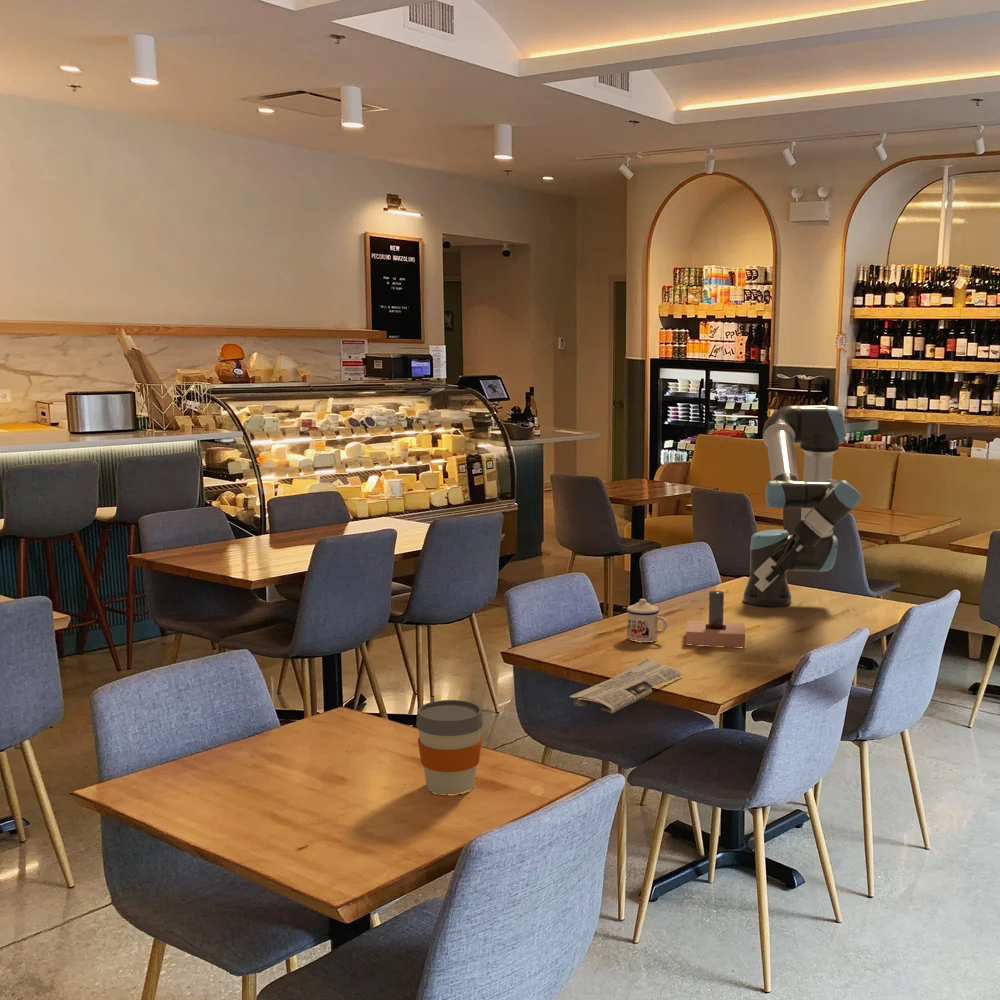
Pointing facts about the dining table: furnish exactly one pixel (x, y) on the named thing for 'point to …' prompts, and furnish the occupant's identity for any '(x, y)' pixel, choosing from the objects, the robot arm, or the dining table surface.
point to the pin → (716, 610)
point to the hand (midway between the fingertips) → (757, 582)
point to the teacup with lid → (643, 621)
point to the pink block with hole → (715, 634)
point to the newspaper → (627, 686)
